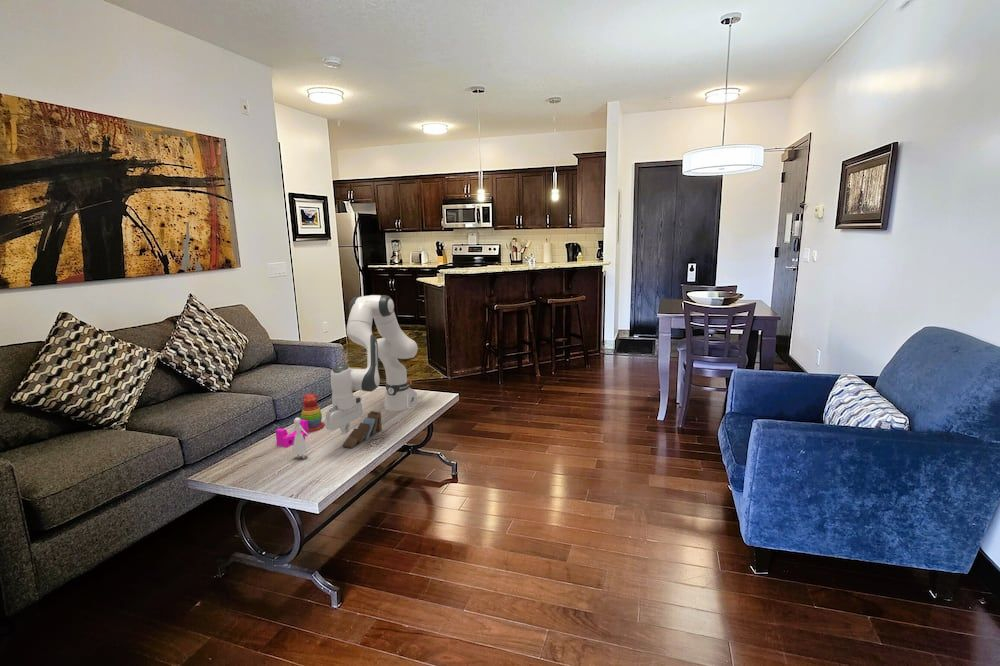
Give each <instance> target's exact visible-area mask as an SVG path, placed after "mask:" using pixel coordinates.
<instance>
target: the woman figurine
mask: <svg viewBox="0 0 1000 666" xmlns="http://www.w3.org/2000/svg"><path fill="white" fill-rule="evenodd" d="M300 421H301V418H300V417H295V418H294V420H293V424H294V426H293V428H292V429H291V430H290V431H289V433H288V435H289V434H291V433H293V432H294V431H295V430H296V432H297V433H296V435H295V439H294V444H293V445H292V446H293V447H292V454H293V455H296V456H297V459H299V458H301V457H302V459H305V458H306V456H305V455H307V454H308V451H309V450H308V447H307V445H306V441H305V439H304V438H303V435H302V433H301V430H302V431H303V432H304V433H306V432H305V430H304V429H303V428H302V426H301V425H300V424H299V423H300ZM306 434H307V433H306ZM288 435H287V436H288ZM287 436H286V437H287ZM307 437H309V438H310V439H312V437H311V435H310V434H309V435H308V434H307Z"/></svg>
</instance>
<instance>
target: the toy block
mask: <svg viewBox="0 0 1000 666" xmlns="http://www.w3.org/2000/svg"><path fill="white" fill-rule="evenodd" d="M299 424H300V425H301V426H302V428H303V429H304V430H305V432H306V433H307V434H308V435H309V436H310V432H309V429H308V420H301V421H300V423H299ZM296 433H297V432H296V430H295V429H294V430H293V431H292V432H291V433H290V434H289V433H288V430H287V429H285V428H281V427H280V428H278V429H276V430H275V437H276V438H275V440H276V446H279V447H283V448H289V447H292V446H293V445H294V439H295V435H296ZM301 433H302V435H303V438H304V440H305V439H306V437H308V435H307V434H306V433H304V432H303V431H302V430H301ZM288 434H289V435H288ZM287 435H288V436H287ZM286 436H287V437H286Z"/></svg>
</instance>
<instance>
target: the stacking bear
mask: <svg viewBox="0 0 1000 666" xmlns="http://www.w3.org/2000/svg"><path fill="white" fill-rule="evenodd" d="M318 400H319V399H318V394H316V393H315V394H311V393H308V394H307V395H306V394H304V395H303V396H302V403H303V405H304V406H303V407H302V410H301V416H300V417H301V418H300V419H301V420H308V429H309V433H314V432H318V431H320V429H321V430H322V429H324V428H325V421H322V420H323V419H322V418H323V417H322V415H323V414H322V411H321V408H320V406H319V405H318Z"/></svg>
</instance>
